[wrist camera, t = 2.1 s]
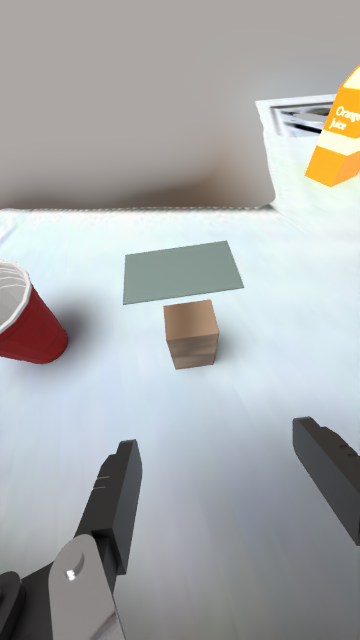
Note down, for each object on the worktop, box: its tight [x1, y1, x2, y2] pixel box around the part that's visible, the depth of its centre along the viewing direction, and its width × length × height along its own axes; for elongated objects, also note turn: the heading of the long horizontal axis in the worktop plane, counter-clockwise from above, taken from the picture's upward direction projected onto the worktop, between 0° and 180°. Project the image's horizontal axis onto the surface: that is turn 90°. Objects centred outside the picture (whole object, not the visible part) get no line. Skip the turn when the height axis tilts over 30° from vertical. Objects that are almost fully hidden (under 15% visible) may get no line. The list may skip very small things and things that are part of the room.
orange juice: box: [305, 64, 360, 187], centre depth 40 cm, size 8×9×20 cm
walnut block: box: [163, 300, 219, 370], centre depth 23 cm, size 5×4×9 cm
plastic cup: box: [0, 260, 68, 364], centre depth 24 cm, size 11×11×12 cm
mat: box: [123, 241, 244, 305], centre depth 36 cm, size 20×12×1 cm, turn 96°
